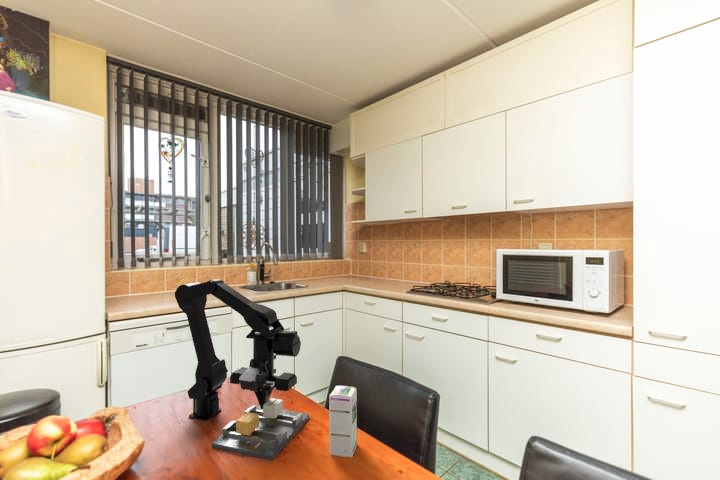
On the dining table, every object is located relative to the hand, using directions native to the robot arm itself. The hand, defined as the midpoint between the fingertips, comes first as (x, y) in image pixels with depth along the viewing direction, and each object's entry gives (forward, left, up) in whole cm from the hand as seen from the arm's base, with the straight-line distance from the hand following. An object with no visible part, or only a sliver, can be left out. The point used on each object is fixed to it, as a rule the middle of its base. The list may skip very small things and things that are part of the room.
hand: (263, 408), depth 94 cm
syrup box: (+26, -6, -4) cm, 27 cm away
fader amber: (+1, -9, -2) cm, 9 cm away
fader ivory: (+3, 0, -2) cm, 4 cm away
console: (+3, -5, -4) cm, 7 cm away
